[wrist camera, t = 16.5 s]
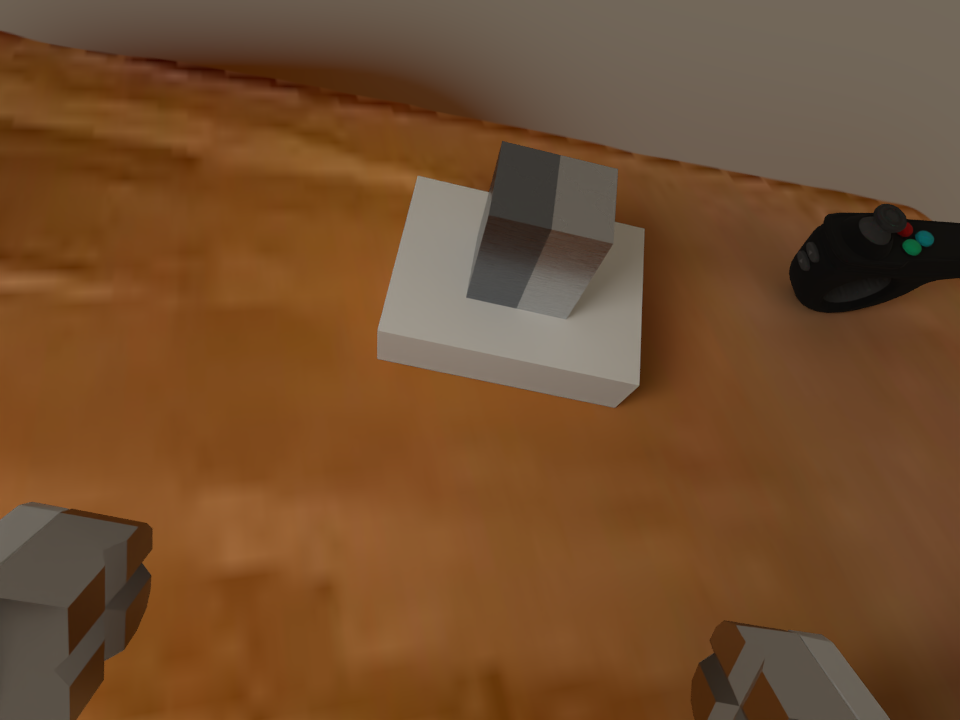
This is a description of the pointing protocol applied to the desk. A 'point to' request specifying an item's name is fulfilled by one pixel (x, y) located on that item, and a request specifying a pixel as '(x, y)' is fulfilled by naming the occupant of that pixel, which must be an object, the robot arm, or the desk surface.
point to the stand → (508, 310)
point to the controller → (872, 259)
